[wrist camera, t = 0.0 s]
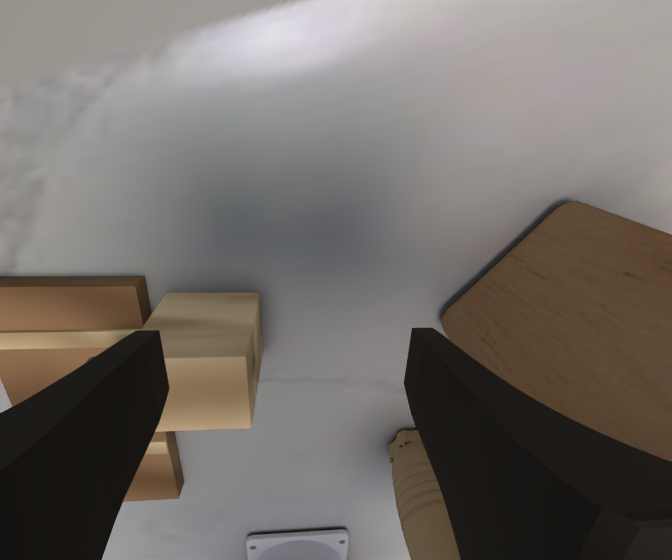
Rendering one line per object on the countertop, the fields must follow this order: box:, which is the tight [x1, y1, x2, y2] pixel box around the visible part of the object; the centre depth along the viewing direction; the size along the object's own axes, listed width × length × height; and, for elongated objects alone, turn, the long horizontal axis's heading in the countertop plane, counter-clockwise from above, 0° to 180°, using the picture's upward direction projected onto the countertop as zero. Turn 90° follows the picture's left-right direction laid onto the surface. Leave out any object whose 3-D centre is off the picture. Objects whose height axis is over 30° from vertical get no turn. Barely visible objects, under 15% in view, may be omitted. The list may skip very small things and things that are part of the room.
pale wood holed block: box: [86, 292, 263, 432], centre depth 19 cm, size 4×8×6 cm, turn 88°
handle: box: [389, 430, 461, 560], centre depth 20 cm, size 5×6×15 cm
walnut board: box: [0, 277, 184, 501], centre depth 23 cm, size 16×8×1 cm, turn 178°
